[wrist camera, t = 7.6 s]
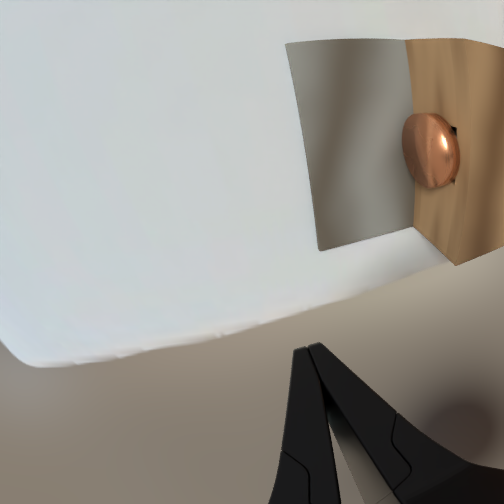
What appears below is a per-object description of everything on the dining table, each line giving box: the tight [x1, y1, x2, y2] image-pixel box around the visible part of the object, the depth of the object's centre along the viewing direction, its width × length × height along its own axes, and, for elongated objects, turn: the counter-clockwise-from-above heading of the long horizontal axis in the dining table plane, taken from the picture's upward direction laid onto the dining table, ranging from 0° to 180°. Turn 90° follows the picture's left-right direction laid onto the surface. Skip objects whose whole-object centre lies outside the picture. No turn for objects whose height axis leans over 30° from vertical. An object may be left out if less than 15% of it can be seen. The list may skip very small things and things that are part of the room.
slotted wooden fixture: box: [285, 38, 504, 266], centre depth 15 cm, size 18×14×6 cm
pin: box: [402, 113, 460, 188], centre depth 15 cm, size 10×5×5 cm, turn 102°
